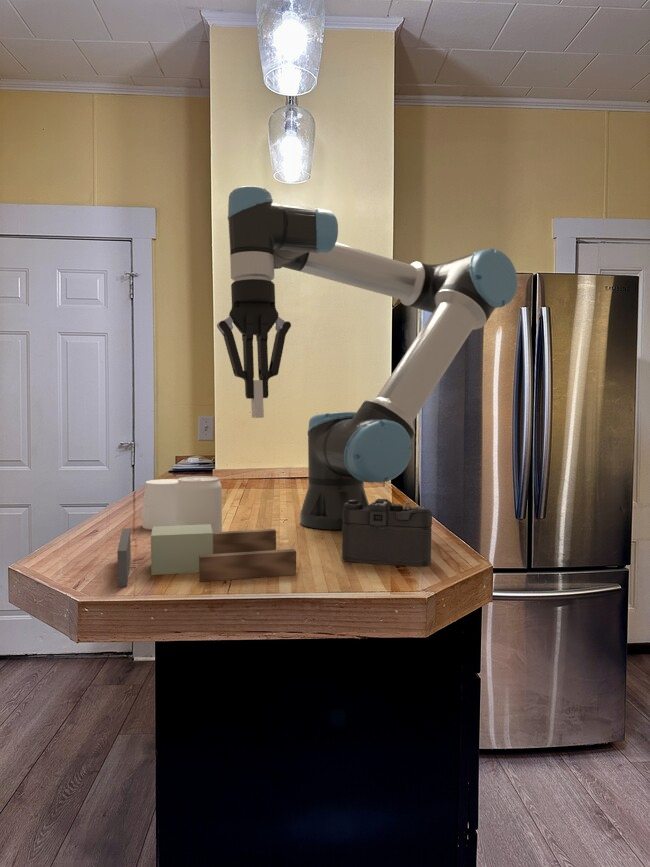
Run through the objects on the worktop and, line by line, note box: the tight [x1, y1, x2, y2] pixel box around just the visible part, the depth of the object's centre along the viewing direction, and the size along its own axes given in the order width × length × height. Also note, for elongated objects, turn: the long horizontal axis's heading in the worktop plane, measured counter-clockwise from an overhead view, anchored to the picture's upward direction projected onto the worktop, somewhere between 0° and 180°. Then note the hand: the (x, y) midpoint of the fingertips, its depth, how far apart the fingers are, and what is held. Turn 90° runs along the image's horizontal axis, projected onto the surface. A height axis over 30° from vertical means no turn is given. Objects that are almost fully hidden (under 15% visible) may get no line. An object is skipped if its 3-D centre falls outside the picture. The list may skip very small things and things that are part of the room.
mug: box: [140, 478, 179, 531], centre depth 128 cm, size 12×9×8 cm
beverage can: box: [175, 475, 223, 532], centre depth 111 cm, size 8×8×12 cm
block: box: [150, 524, 213, 576], centre depth 97 cm, size 9×7×6 cm
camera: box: [341, 498, 433, 568], centre depth 103 cm, size 14×11×10 cm
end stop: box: [116, 527, 132, 588], centre depth 94 cm, size 1×16×5 cm, turn 15°
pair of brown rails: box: [198, 528, 297, 583], centre depth 99 cm, size 14×17×4 cm
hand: (257, 417), depth 110 cm, fingers closed
